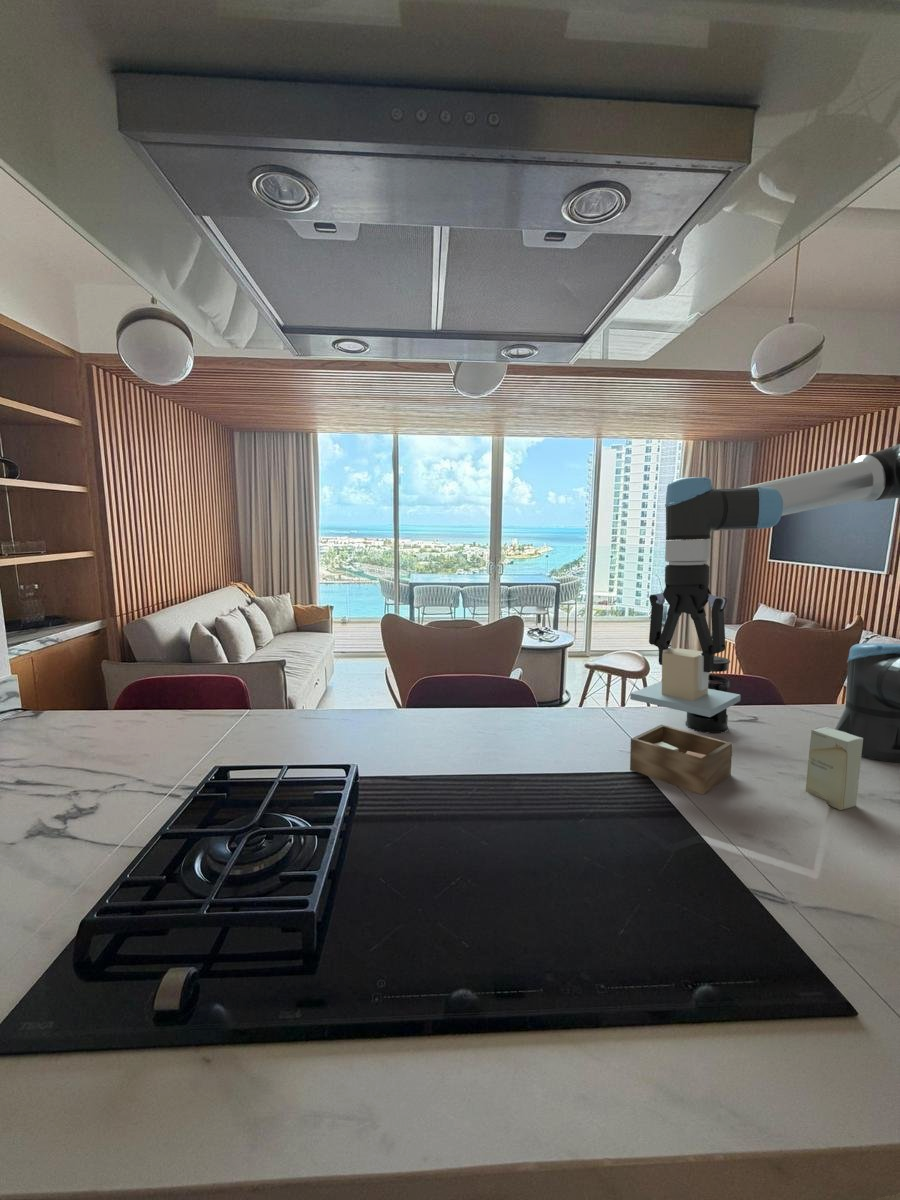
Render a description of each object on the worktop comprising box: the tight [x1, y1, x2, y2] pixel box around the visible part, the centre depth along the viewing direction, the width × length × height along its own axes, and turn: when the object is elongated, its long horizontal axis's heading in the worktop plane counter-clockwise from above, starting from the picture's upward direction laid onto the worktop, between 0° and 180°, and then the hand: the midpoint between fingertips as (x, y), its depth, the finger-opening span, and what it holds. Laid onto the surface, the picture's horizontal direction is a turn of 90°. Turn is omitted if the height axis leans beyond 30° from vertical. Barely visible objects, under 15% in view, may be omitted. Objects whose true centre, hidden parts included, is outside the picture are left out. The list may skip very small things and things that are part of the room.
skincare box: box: [805, 725, 863, 811], centre depth 90 cm, size 6×4×12 cm
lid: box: [629, 647, 742, 717], centre depth 98 cm, size 15×13×9 cm
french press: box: [685, 632, 731, 734], centre depth 125 cm, size 12×9×23 cm
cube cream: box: [655, 742, 679, 751], centre depth 103 cm, size 4×4×4 cm
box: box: [629, 724, 733, 796], centre depth 100 cm, size 14×12×7 cm
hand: (684, 685), depth 99 cm, fingers closed on lid, 6 cm apart
